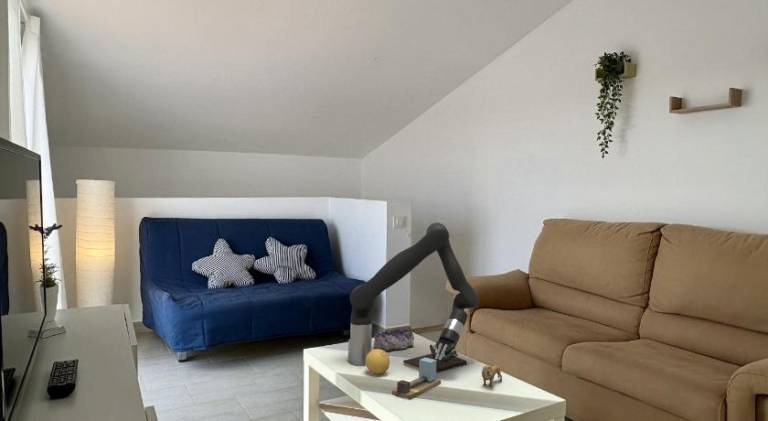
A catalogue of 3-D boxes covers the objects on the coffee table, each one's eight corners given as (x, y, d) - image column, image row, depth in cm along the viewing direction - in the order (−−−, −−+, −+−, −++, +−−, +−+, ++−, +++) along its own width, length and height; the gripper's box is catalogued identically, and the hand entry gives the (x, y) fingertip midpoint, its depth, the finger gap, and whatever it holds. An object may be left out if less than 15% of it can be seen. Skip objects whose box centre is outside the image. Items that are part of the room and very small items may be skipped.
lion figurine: (491, 391, 208) (492, 368, 208) (478, 388, 211) (479, 365, 211) (504, 380, 221) (505, 357, 221) (491, 377, 224) (492, 355, 223)
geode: (405, 341, 272) (407, 322, 270) (418, 351, 262) (420, 331, 261) (369, 345, 261) (371, 325, 260) (381, 355, 252) (384, 334, 250)
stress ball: (382, 379, 219) (383, 354, 218) (360, 374, 223) (361, 350, 223) (393, 371, 228) (394, 347, 227) (372, 367, 232) (373, 344, 232)
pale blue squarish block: (419, 378, 215) (419, 359, 214) (424, 375, 218) (425, 357, 218) (430, 381, 212) (430, 362, 211) (435, 378, 215) (436, 360, 214)
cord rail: (392, 394, 203) (392, 380, 203) (423, 379, 220) (424, 366, 220) (409, 399, 199) (410, 385, 198) (440, 383, 215) (441, 370, 215)
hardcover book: (402, 365, 237) (402, 360, 237) (440, 356, 252) (440, 351, 251) (428, 376, 225) (428, 371, 224) (466, 365, 239) (467, 360, 239)
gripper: (434, 324, 230) (417, 360, 221) (462, 330, 222) (446, 368, 213) (441, 334, 234) (424, 370, 225) (468, 340, 226) (452, 378, 217)
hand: (435, 369), depth 219 cm, fingers closed
